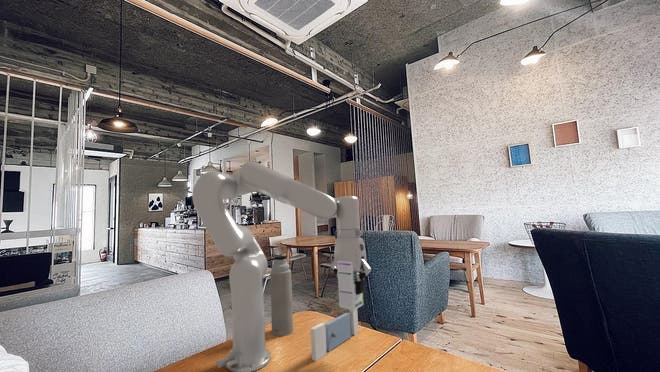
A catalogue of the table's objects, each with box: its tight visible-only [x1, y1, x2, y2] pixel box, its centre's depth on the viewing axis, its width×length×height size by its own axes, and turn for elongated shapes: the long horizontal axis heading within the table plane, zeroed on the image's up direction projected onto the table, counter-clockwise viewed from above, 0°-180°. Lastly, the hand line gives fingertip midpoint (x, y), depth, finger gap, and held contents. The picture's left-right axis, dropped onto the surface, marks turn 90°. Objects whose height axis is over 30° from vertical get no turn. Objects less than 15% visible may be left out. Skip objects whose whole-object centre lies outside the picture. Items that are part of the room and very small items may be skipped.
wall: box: [310, 308, 360, 362], centre depth 91 cm, size 23×2×9 cm, turn 141°
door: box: [324, 309, 353, 352], centre depth 92 cm, size 13×2×9 cm, turn 141°
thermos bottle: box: [269, 255, 294, 337], centre depth 105 cm, size 8×8×28 cm
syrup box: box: [337, 261, 365, 310], centre depth 87 cm, size 6×6×14 cm
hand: (350, 291), depth 87 cm, fingers closed on syrup box, 5 cm apart
